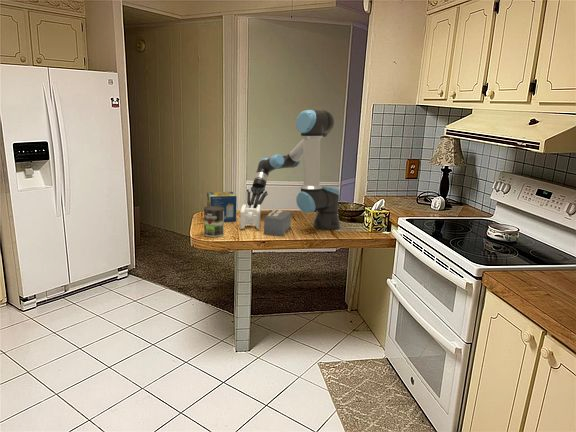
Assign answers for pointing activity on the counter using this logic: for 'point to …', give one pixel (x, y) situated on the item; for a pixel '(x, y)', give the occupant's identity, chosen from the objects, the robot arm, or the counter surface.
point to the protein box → (224, 203)
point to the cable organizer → (250, 216)
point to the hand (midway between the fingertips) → (250, 215)
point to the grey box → (277, 222)
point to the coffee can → (213, 221)
